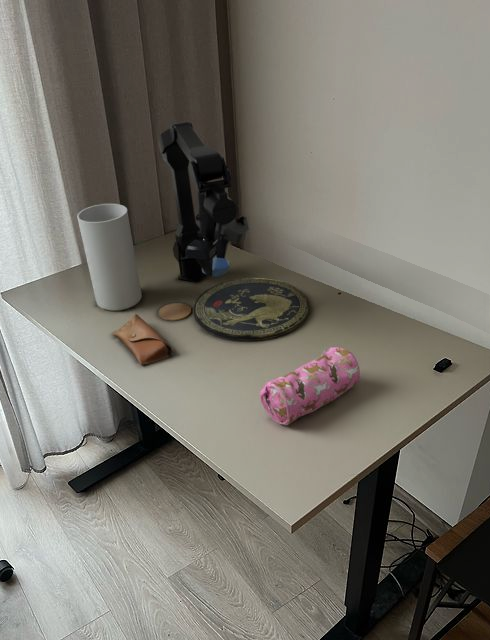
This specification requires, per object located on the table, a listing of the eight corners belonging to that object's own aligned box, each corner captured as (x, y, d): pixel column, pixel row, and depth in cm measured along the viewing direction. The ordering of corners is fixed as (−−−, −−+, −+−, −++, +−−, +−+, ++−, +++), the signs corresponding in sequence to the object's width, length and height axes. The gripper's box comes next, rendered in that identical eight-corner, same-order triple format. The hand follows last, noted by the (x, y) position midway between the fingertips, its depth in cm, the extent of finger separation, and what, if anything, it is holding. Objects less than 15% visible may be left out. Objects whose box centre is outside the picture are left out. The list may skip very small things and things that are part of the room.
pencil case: (329, 371, 133) (331, 337, 128) (362, 390, 127) (365, 355, 122) (256, 414, 123) (255, 379, 118) (287, 436, 117) (287, 400, 112)
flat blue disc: (197, 277, 149) (196, 268, 148) (209, 264, 154) (208, 256, 153) (223, 281, 147) (222, 272, 145) (234, 268, 152) (233, 259, 150)
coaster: (152, 317, 157) (152, 316, 157) (168, 302, 163) (168, 300, 163) (181, 323, 154) (181, 321, 154) (196, 307, 160) (196, 305, 160)
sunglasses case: (109, 333, 151) (118, 309, 149) (133, 337, 156) (142, 314, 154) (141, 366, 139) (150, 340, 137) (166, 369, 143) (175, 344, 141)
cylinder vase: (105, 289, 172) (87, 203, 157) (147, 289, 170) (132, 203, 155) (90, 311, 162) (69, 222, 147) (135, 312, 160) (118, 222, 145)
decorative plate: (168, 314, 154) (237, 267, 172) (169, 321, 155) (237, 273, 174) (266, 349, 139) (330, 293, 157) (266, 355, 140) (329, 300, 158)
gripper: (226, 228, 131) (230, 292, 140) (257, 197, 144) (259, 257, 154) (180, 223, 135) (188, 285, 144) (214, 194, 148) (219, 252, 158)
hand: (215, 269), depth 150 cm, fingers closed on flat blue disc, 7 cm apart
